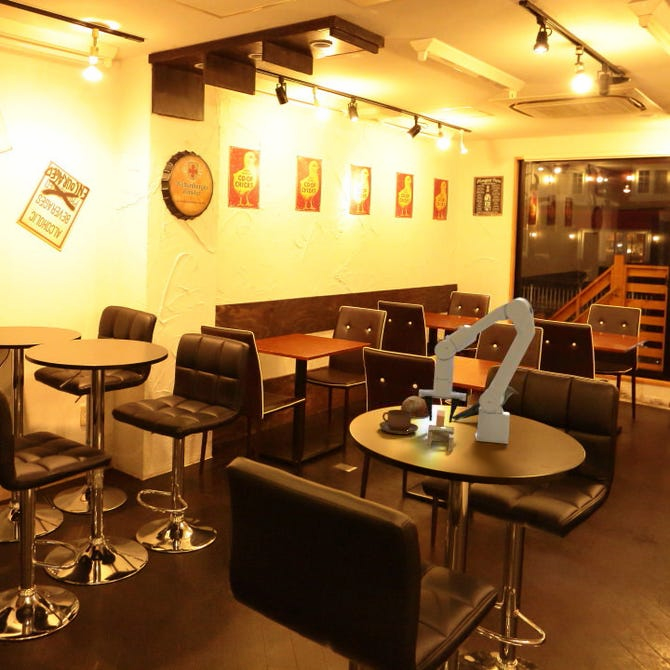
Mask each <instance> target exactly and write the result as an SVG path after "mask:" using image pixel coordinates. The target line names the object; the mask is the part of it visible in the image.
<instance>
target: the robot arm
mask: <svg viewBox="0 0 670 670" xmlns="http://www.w3.org/2000/svg"><path fill="white" fill-rule="evenodd" d="M507 320H510V321H511V322H512V324H513V327H514V328H515V330H516V335H515V337H514V340H513V342H512V343H511V345H510V347H509V348H508V351H507V352H506V355H505V357H504V359H503V360H502V362H501V364H500V366H499V368H498V370H497V372H496V374H495V376H494V377H493V379H492V381H491V383H490V384H489V387H488V388H486V390H485V391H484V392H483V393H482V394H481V395H480V397H479V398H478V401H479V404H480V406H481V407H479V415H477V417H478V419H477V428H476V429H477V430H476V432H475V435H474V436H475V437H474V438H475V441H477V442H486V443H498V444H506V445H507V444H509V436H510V416H511V415H510V412H509V411H504V409H503V406H500V405H501V404H502V403H503V401H504V393H505V390H506V389H507V386H509V383H510V382H511V380H512V378H513V376H514V374H515V372H516V371H517V369H518V367H519V365H520V363H521V361H522V359H523V357H524V356H525V354H526V351H527V350H528V349H529V345H530V344H531V342H532V340H533V338H534V337H535V334H536V326H535V319H534V309H533V308H532V305H531V303H530V302H529V301H528V300H527V299H526V298H524V297H516V298H514V299H512V300H510V301H509V302H506V303H504V304H503V305H500V306H498V307H496V308H495V309H492V310H491V311H490V312H489V313H487V314H486V315H484V316H483V317H482V318H480V319H479V320H478V321H476V322H475V323H474V324H472V325H469V324H468V325H467V324H465V325H463V326H462V325H460V326H458V327H457V330H456V331H454V332H453V333H451V334H449V335H448V334H447V335H446V336H444V339H443V340H439V342H438V343H437V344H436V345H435V347H434V354H435V356H436V357H435V363H434V364H435V365H434V367H435V368H434V374H433V375H434V377H433V378H434V379H433V389H419V390H418V397H420V398H424V400H425V403H426V406H427V409H428V412H429V415H428V418H429V420H428V421H430V422H432V420H433V402H434V401H433V399H444V400H450V402H451V403H450V411H449V413H450V414H449V417H448V418H449V419H448V423H449V424H450V423H452V422H453V418H452V417H453V416H454V414H455V412H456V410H457V407H459V404H460V401H462V402H463V401H464V402H466V401H467V393H462V392H458V391H457V392H456V391H453V382H454V381H453V380H454V371H455V370H454V368H455V364H454V363H455V362H454V361H455V355H456V353H457V352H458V353H459V352H461V351H462V350H464V349H465V348H467V347H468V346H470V345H471V344H473V343H474V342H476V341H477V336H478V334H479V333H482V332H483V331H484V330H486V329H487V328H489V327H490V326H492V325H494V324H495V323H497V322H500V321H502V322H503V321H507Z"/></svg>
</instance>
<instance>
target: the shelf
mask: <svg viewBox="0 0 670 670" xmlns="http://www.w3.org/2000/svg"><path fill="white" fill-rule="evenodd" d="M427 427H428V430H427V439H426V450H431V449H432V443H433V441H436V442H437V441H438V442H445V443H447V442H448V449H447V450H448V452H453V448H454V435H455V427H454V426H445V425H444V426H436V424H433V425H432V424H429V425H428V426H427Z"/></svg>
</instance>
